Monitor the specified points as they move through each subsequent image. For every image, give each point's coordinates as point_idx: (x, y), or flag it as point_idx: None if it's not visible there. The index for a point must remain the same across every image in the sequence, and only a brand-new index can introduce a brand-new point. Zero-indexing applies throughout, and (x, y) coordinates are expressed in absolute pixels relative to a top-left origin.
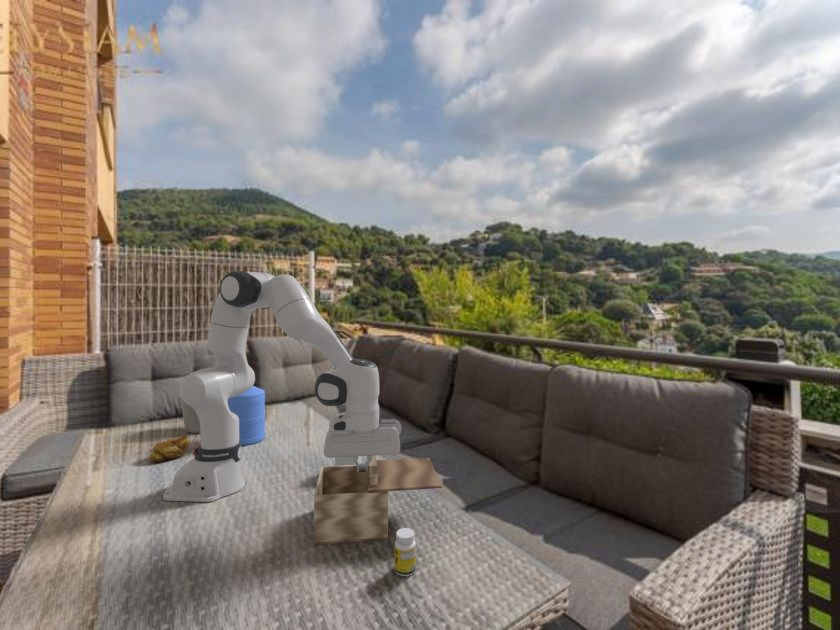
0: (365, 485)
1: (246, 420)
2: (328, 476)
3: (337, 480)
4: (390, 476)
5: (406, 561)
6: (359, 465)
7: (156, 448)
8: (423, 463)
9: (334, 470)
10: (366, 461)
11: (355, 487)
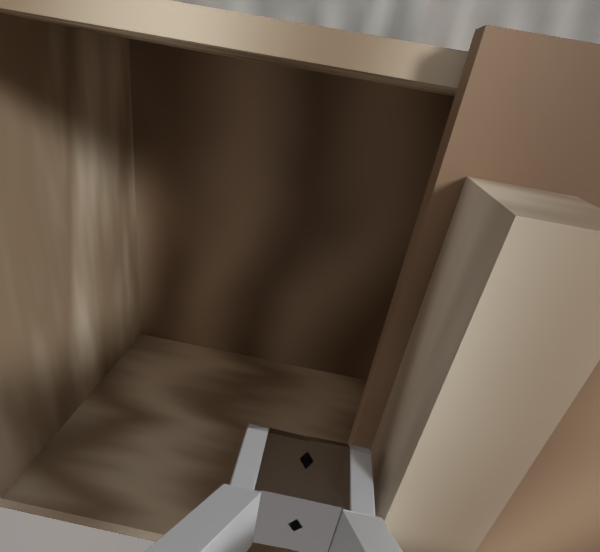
0: (399, 84)
1: None
2: (12, 13)
3: (131, 35)
4: (548, 533)
5: None
6: (252, 540)
7: None
8: None
9: (26, 14)
10: (354, 540)
11: (313, 69)
